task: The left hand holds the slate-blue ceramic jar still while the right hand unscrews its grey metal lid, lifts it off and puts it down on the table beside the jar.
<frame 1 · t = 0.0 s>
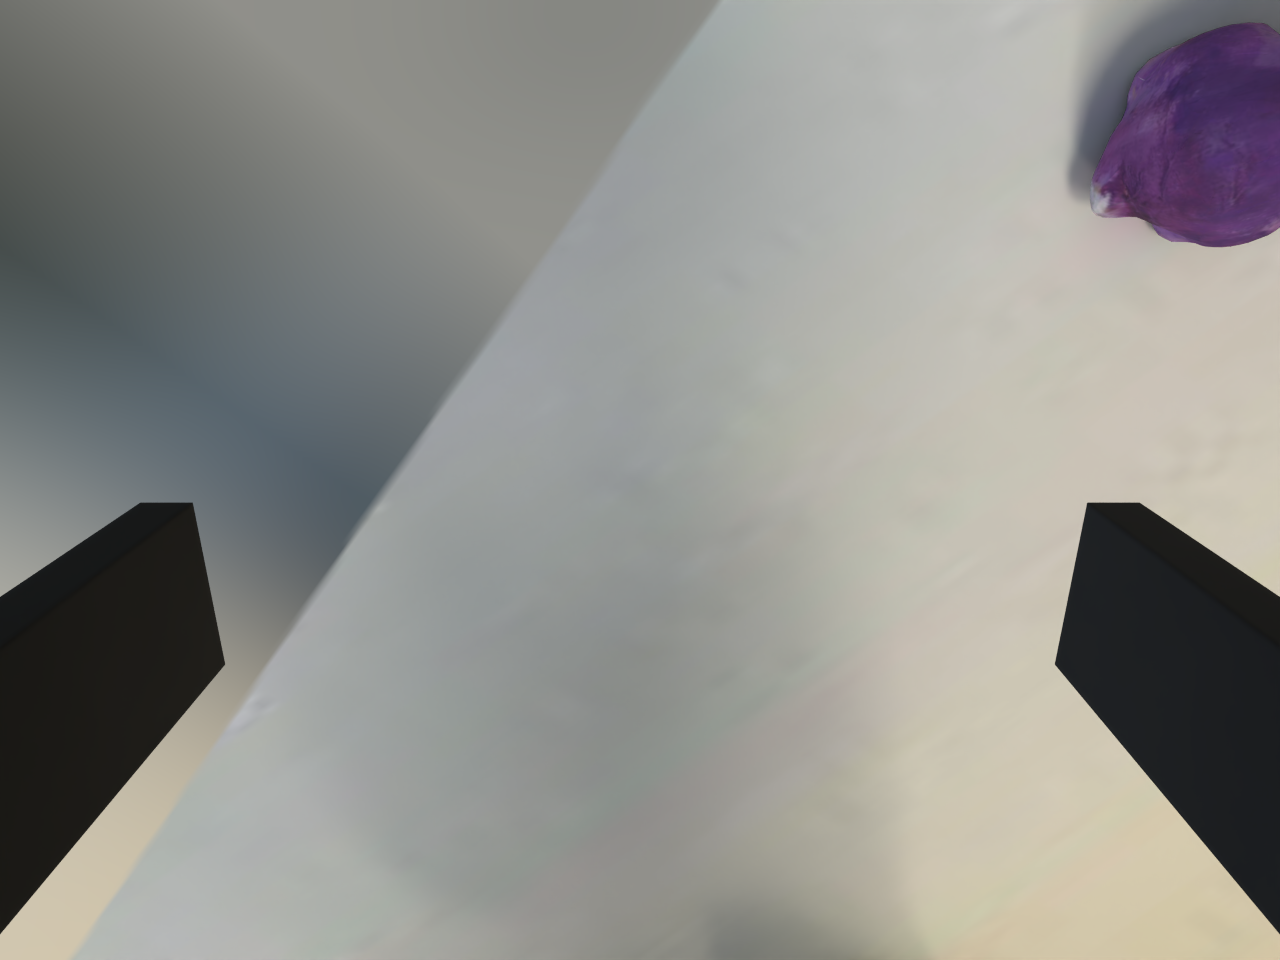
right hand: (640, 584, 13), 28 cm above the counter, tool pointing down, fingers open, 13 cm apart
figurine: (1206, 118, 36), on the counter
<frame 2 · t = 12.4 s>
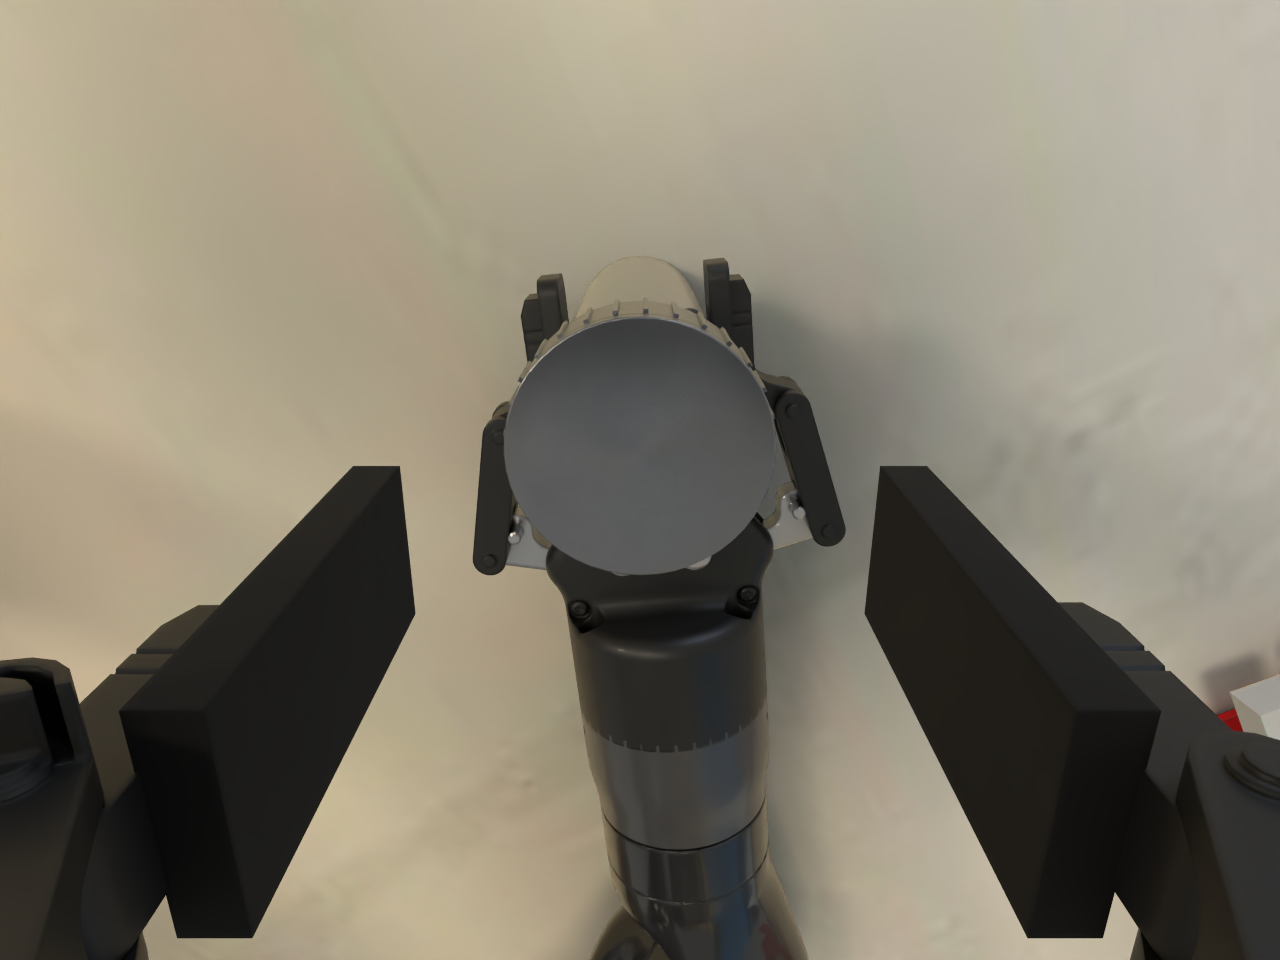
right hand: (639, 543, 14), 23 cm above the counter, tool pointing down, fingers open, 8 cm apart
jar: (639, 316, 35), on the counter, touching left hand
lid: (639, 448, 19), point 18 cm above the counter, screwed on, not yet turned
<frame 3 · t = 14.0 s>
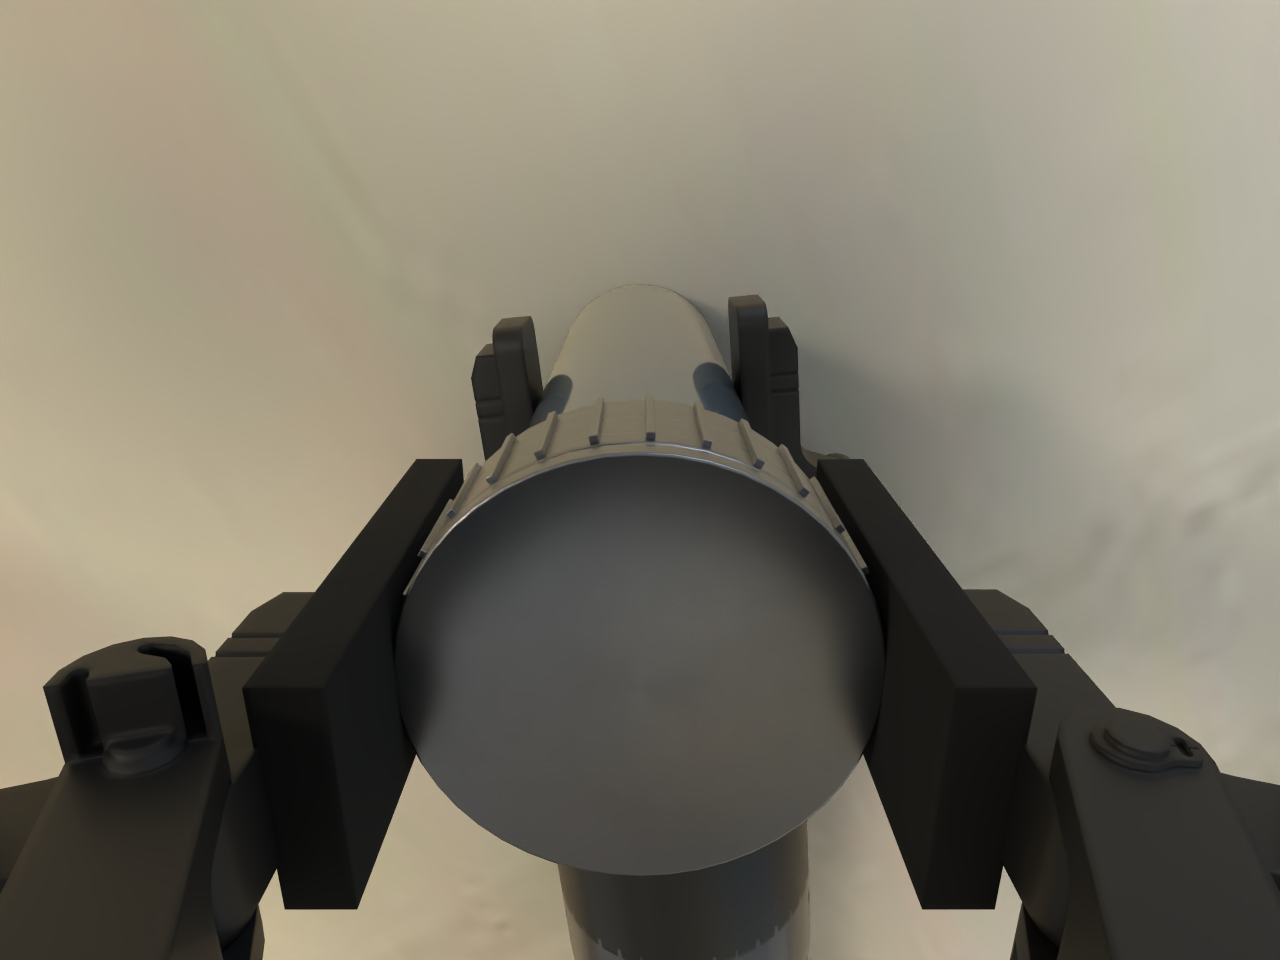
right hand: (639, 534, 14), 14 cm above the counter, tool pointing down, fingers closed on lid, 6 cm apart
jar: (639, 361, 27), on the counter, touching left hand
lid: (639, 670, 10), point 18 cm above the counter, screwed on, not yet turned, touching right hand
when the right hand's fingers open (14 cm above the counter, at t = 15.4 s): lid stays where it is, point 18 cm above the counter.
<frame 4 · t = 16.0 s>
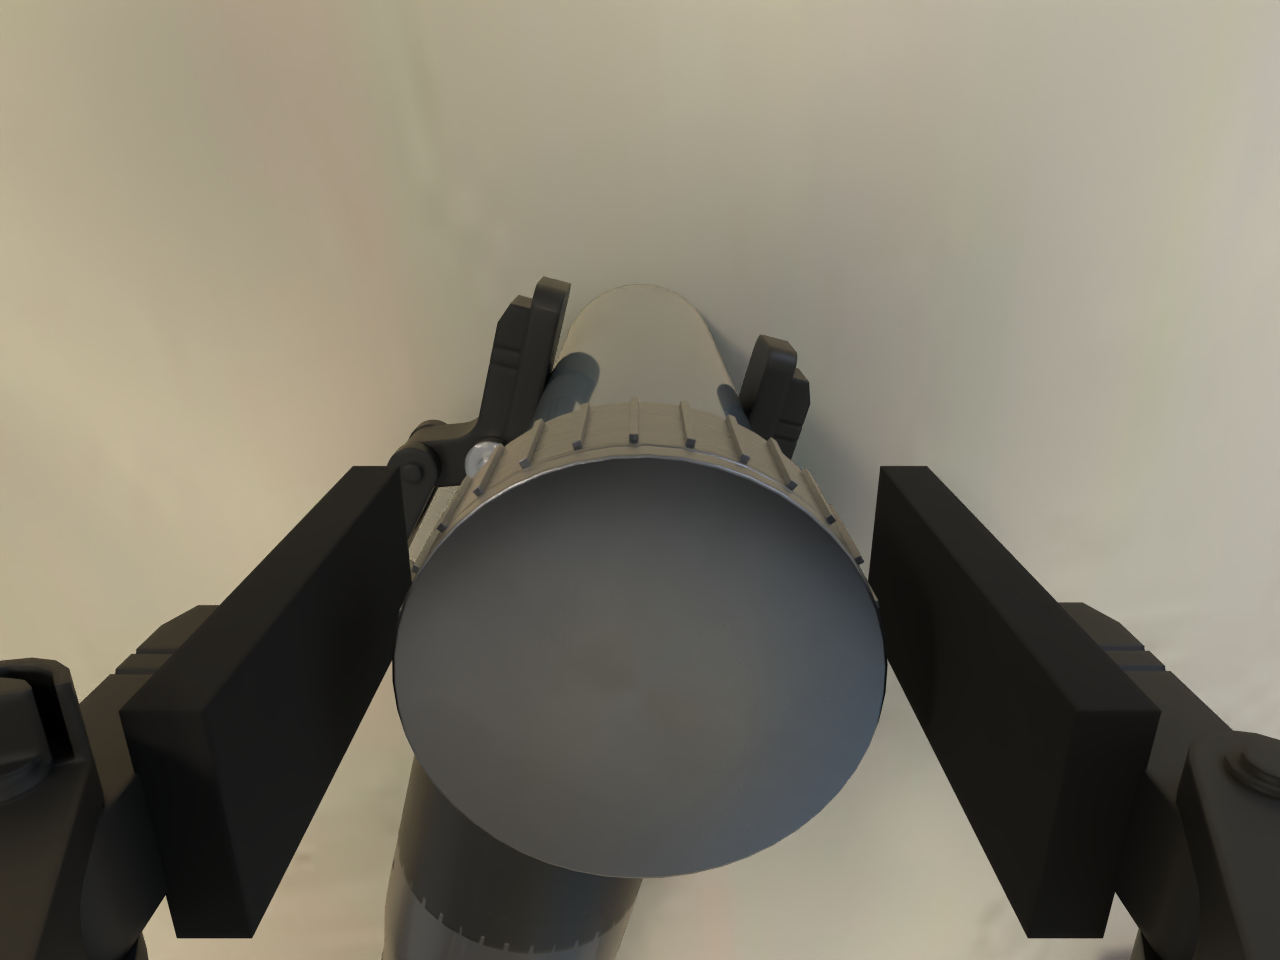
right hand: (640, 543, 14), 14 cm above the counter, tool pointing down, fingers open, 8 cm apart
jar: (639, 361, 27), on the counter, touching left hand
lid: (639, 672, 10), point 18 cm above the counter, turned 86° so far, risen 0.3 cm, still on its thread
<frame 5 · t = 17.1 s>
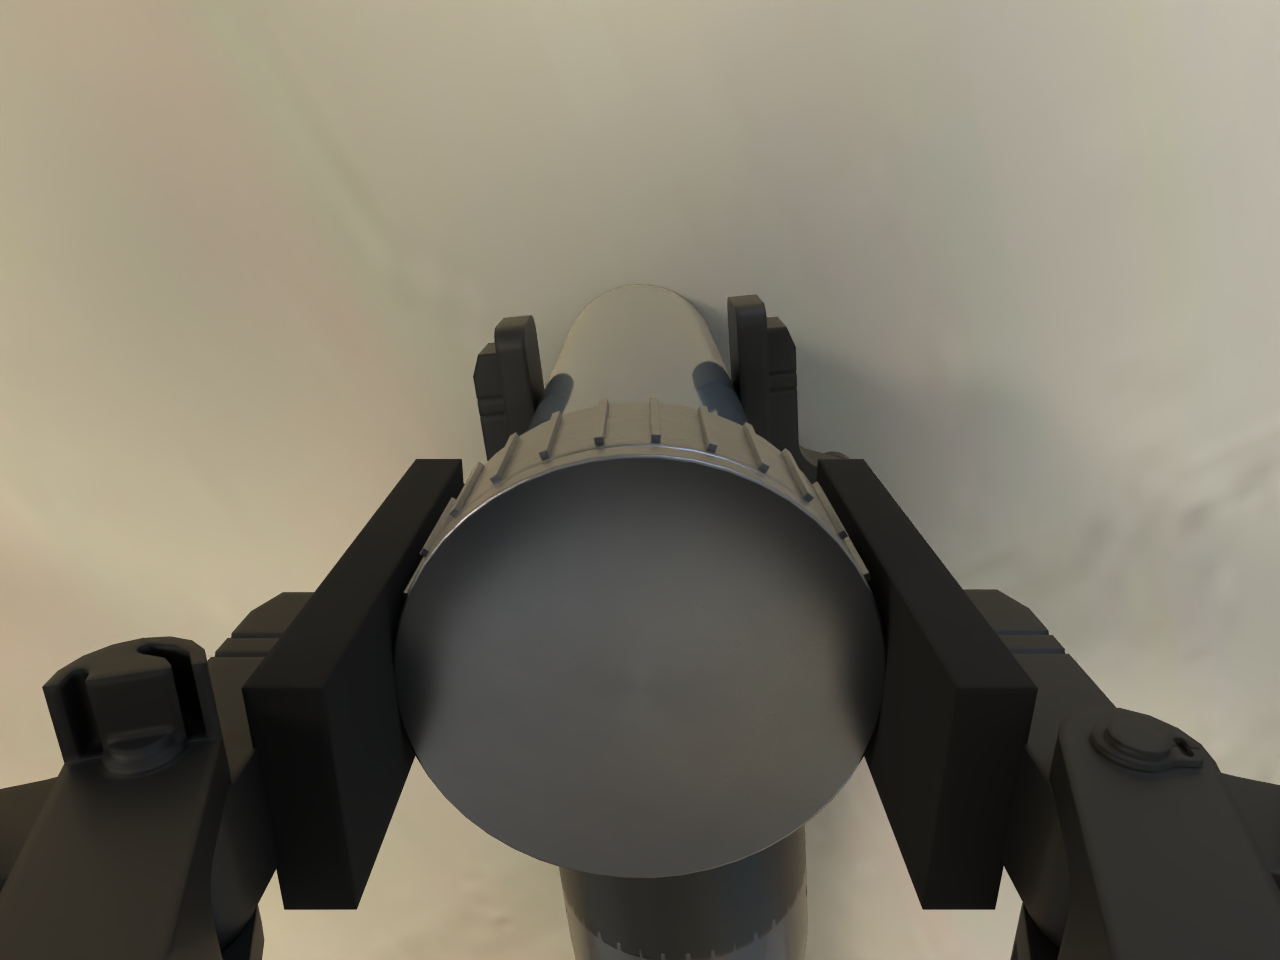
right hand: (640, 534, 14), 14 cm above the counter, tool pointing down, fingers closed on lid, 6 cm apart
jar: (639, 361, 27), on the counter, touching left hand
lid: (639, 672, 10), point 18 cm above the counter, turned 86° so far, risen 0.3 cm, still on its thread, touching right hand
when the right hand's fingers open (0 cm above the counter, at t = 23.5 s): lid stays where it is, point 2 cm above the counter.
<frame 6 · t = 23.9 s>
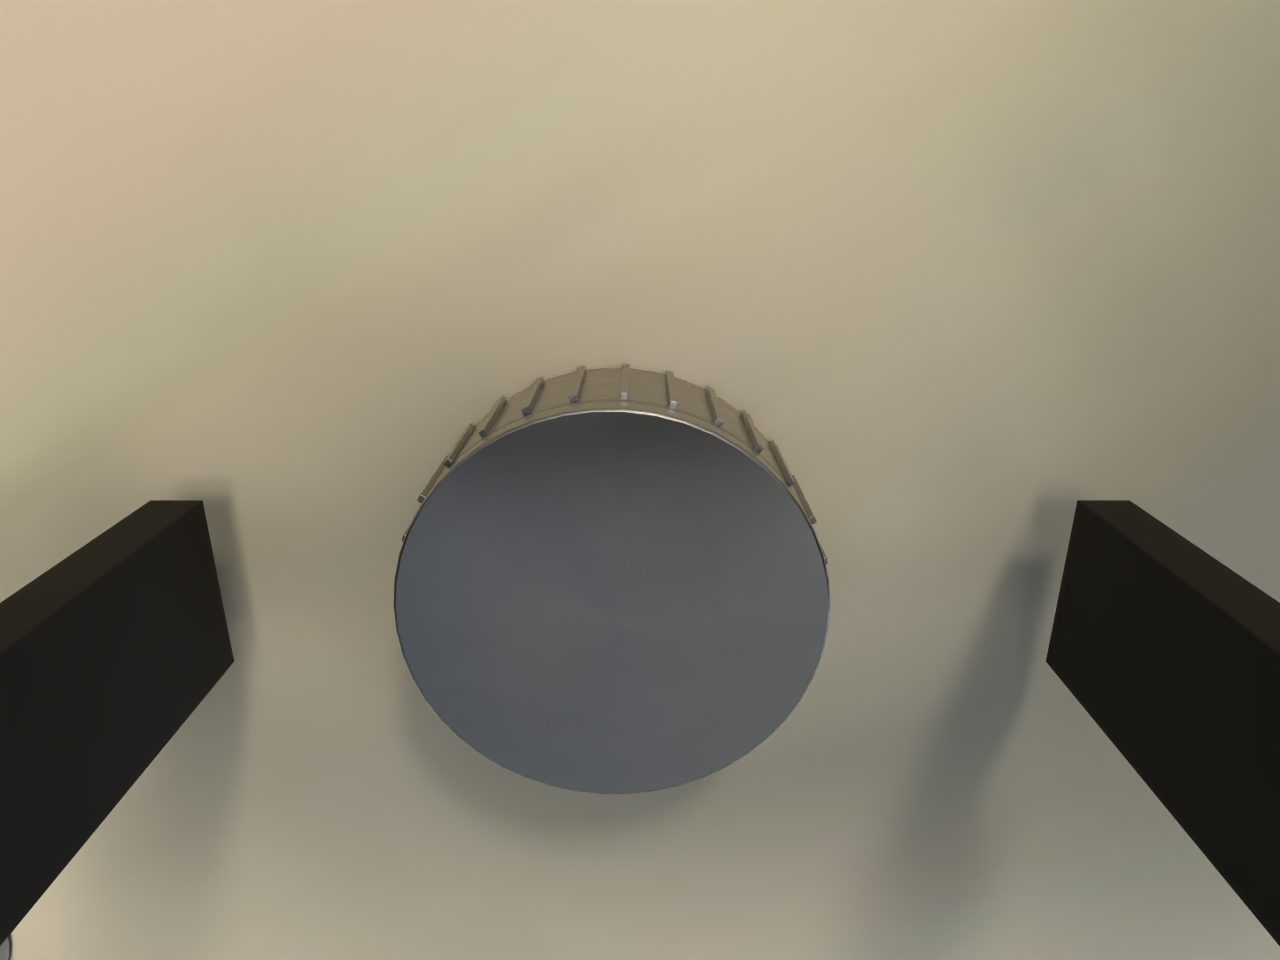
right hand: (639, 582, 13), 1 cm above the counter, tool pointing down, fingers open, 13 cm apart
lid: (612, 606, 12), point 2 cm above the counter, off its thread
when the left hand's fingers open (7 cm above the counter, at t = 24.6 s): jar stays where it is, on the counter.
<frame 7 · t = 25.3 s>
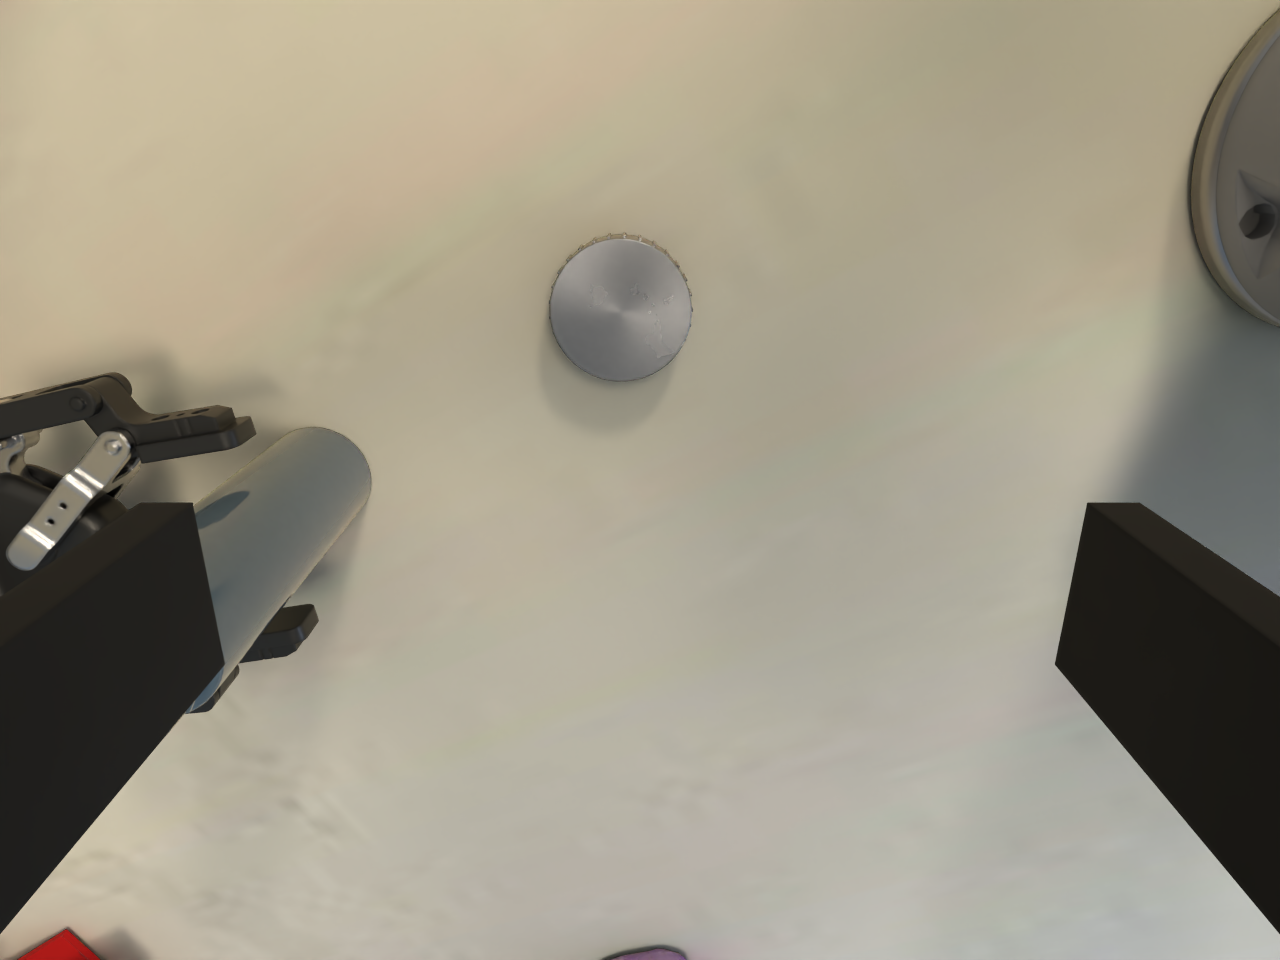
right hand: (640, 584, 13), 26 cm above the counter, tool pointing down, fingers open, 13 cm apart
jar: (319, 475, 40), on the counter
lid: (620, 310, 35), point 2 cm above the counter, off its thread
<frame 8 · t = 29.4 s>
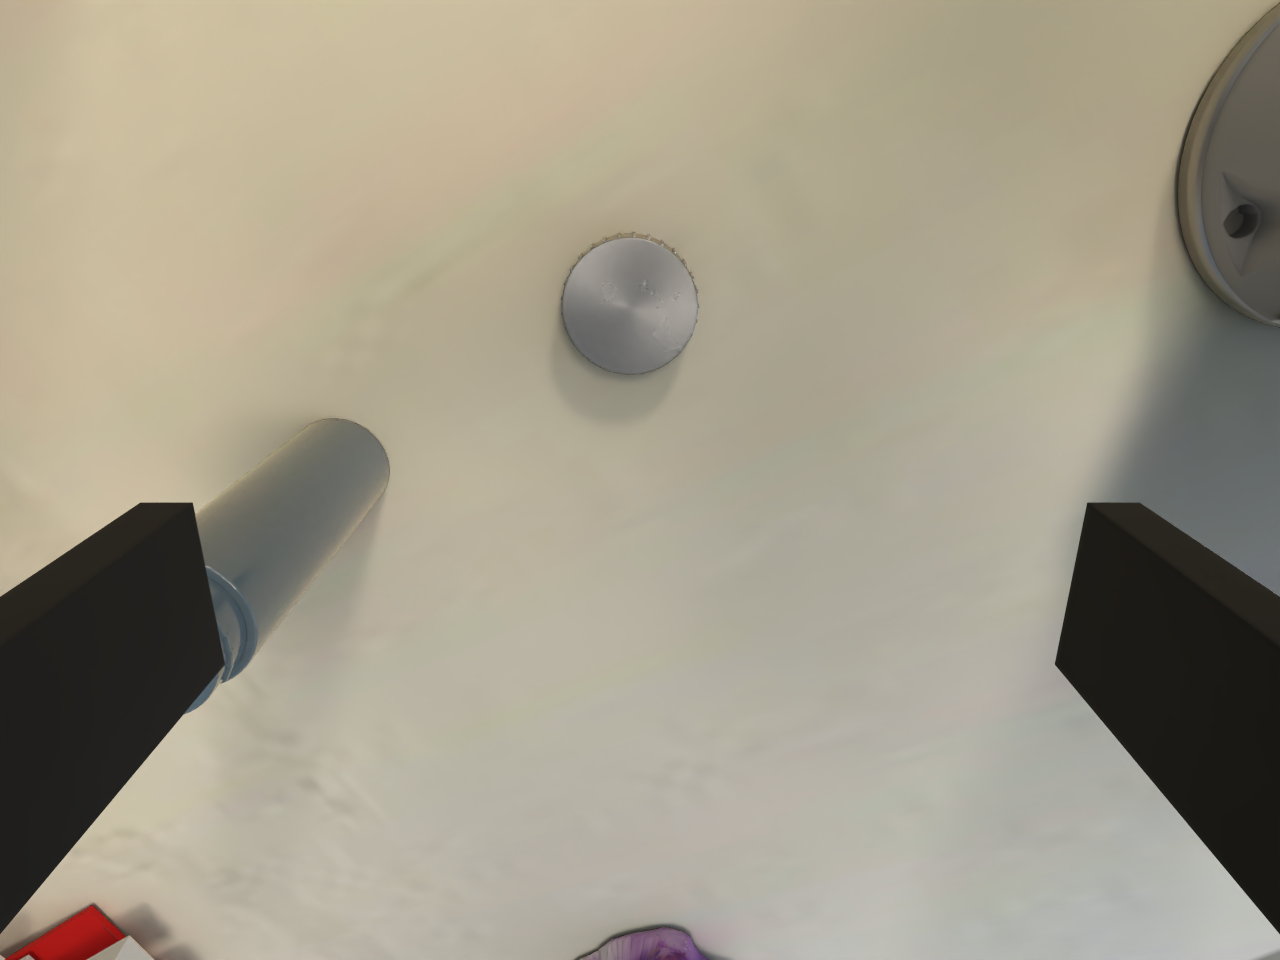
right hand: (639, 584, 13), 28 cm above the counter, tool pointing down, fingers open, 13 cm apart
jar: (340, 465, 42), on the counter
lid: (630, 306, 37), point 2 cm above the counter, off its thread
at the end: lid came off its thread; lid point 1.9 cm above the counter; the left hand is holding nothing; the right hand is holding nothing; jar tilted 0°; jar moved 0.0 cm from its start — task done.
